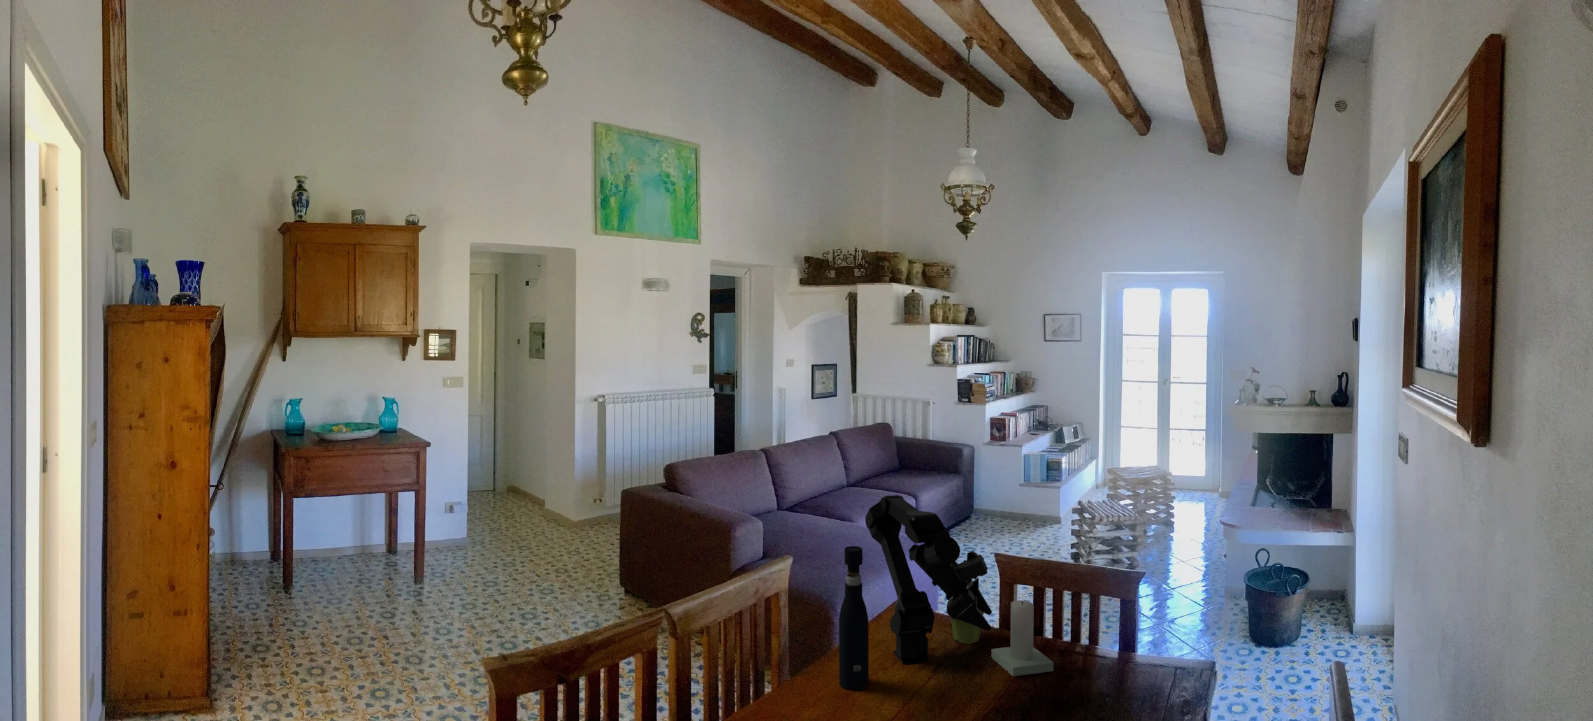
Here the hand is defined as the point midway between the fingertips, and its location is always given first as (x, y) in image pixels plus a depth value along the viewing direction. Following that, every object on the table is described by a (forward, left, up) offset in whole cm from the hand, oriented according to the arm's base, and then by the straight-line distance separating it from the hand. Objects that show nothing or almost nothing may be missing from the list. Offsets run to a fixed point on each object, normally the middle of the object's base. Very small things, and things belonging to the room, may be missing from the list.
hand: (990, 621), depth 178 cm
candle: (+11, +6, -12) cm, 17 cm away
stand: (+11, +6, -14) cm, 19 cm away
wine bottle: (-29, +7, -14) cm, 33 cm away
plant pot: (+5, +22, -14) cm, 27 cm away
